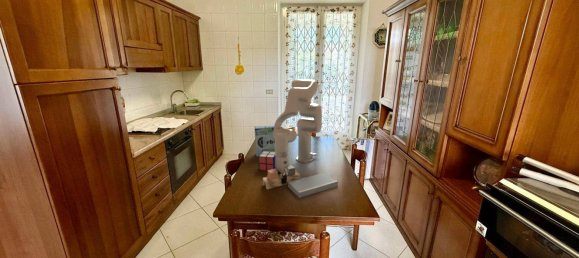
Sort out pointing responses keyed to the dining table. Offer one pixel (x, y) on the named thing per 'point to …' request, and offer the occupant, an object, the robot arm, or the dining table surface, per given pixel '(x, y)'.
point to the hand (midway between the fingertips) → (281, 180)
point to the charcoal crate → (291, 170)
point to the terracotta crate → (272, 174)
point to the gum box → (264, 139)
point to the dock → (312, 184)
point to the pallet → (279, 180)
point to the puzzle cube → (267, 161)
